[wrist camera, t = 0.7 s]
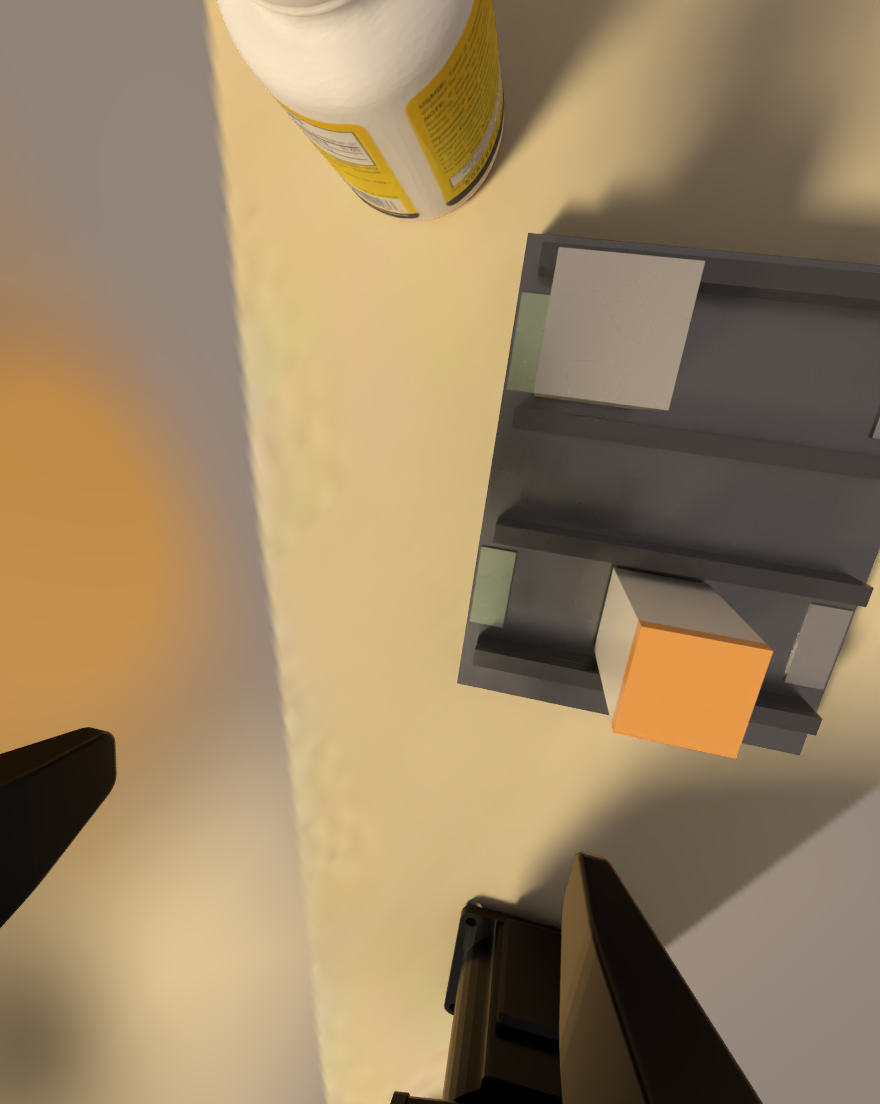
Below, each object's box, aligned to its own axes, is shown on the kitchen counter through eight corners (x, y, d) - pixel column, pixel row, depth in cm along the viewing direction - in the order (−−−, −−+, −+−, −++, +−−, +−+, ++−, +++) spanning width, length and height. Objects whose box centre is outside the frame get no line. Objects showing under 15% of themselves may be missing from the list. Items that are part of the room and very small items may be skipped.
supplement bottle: (489, -6, 15) (416, -641, 6) (518, 200, 17) (493, -63, 7) (319, 57, 17) (37, -393, 7) (357, 245, 18) (159, 67, 8)
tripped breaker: (684, 666, 18) (736, 758, 13) (594, 649, 18) (613, 732, 14) (708, 584, 17) (773, 651, 12) (613, 567, 17) (641, 626, 13)
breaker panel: (780, 729, 20) (885, 869, 14) (462, 664, 21) (433, 763, 15) (942, 287, 15) (1198, 211, 9) (529, 247, 17) (524, 162, 11)
